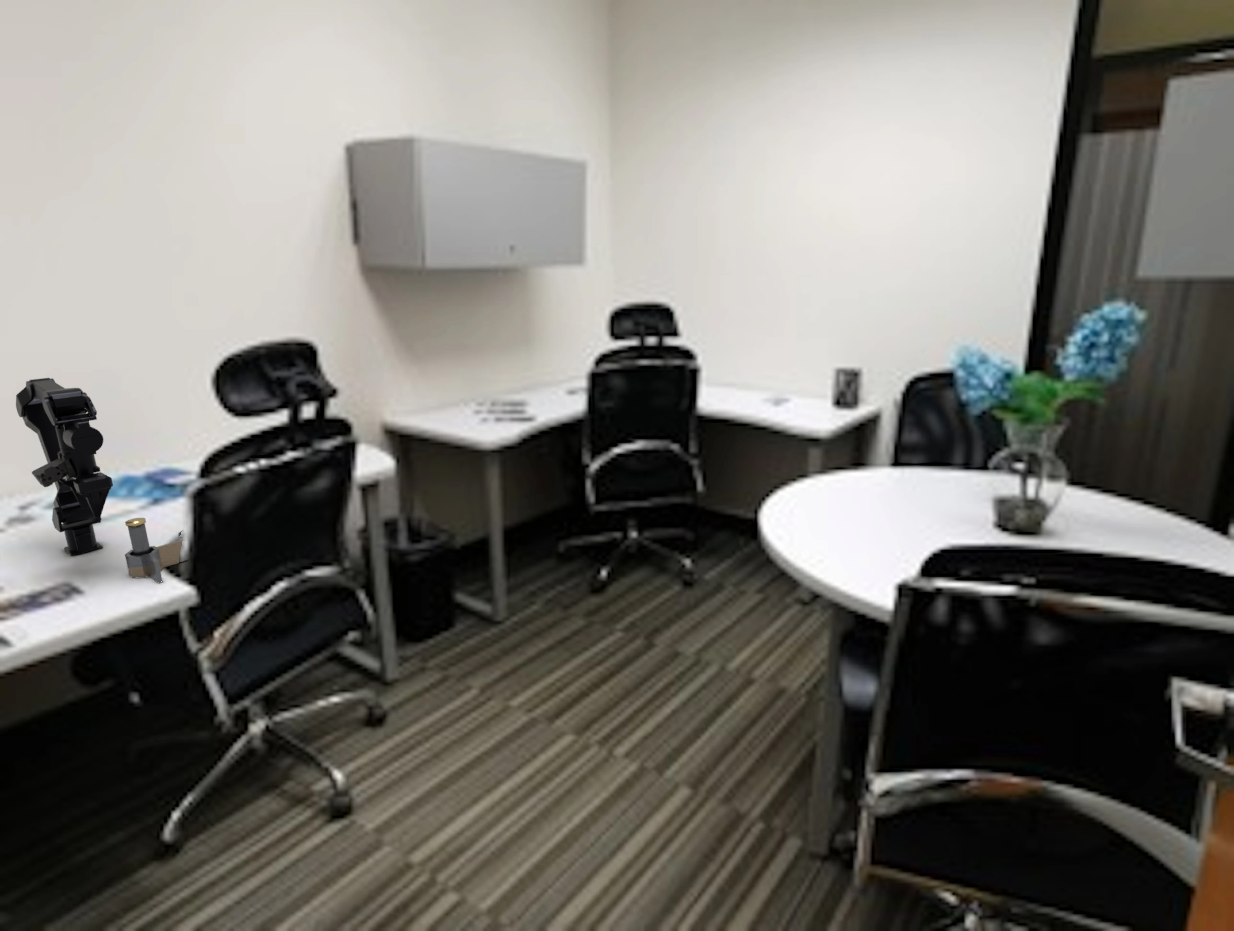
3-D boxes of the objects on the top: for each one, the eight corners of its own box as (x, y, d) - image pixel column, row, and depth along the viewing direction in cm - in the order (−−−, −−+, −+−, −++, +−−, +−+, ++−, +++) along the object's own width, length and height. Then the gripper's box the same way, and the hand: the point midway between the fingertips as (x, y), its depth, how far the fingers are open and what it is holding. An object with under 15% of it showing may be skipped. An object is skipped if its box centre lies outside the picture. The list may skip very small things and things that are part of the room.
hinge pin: (132, 574, 165) (121, 522, 161) (147, 567, 168) (136, 516, 165) (145, 576, 164) (134, 524, 160) (160, 569, 167) (149, 518, 164)
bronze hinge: (126, 572, 166) (122, 552, 164) (182, 556, 174) (178, 536, 173) (145, 587, 158) (140, 566, 157) (202, 569, 167) (198, 549, 165)
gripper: (19, 446, 162) (36, 513, 166) (43, 461, 150) (60, 532, 154) (79, 436, 170) (94, 500, 174) (106, 449, 158) (120, 517, 162)
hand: (91, 512), depth 166 cm, fingers open, 9 cm apart
